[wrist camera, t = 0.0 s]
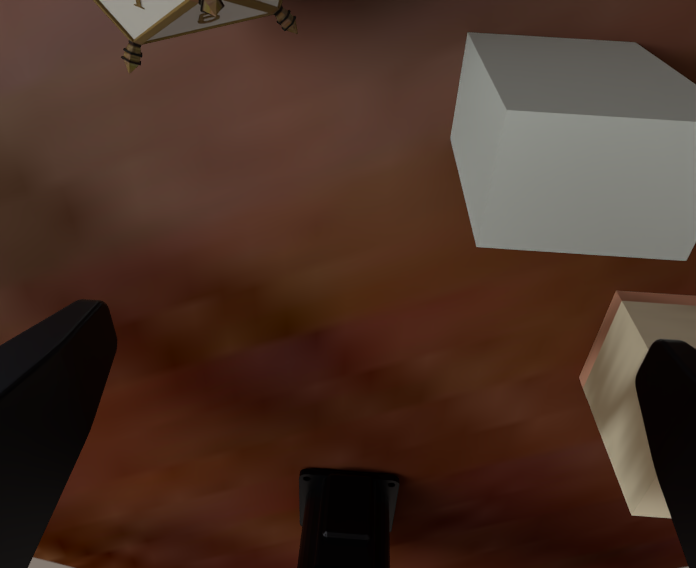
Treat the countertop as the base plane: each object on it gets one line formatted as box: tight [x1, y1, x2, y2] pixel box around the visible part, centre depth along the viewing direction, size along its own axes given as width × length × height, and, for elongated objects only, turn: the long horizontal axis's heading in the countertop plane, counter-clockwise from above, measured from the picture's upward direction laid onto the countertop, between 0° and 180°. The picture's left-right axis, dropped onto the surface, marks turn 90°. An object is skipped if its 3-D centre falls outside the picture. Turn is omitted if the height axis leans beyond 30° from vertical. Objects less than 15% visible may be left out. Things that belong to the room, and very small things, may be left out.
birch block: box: [579, 291, 696, 518], centre depth 25 cm, size 6×4×8 cm, turn 177°
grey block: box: [450, 32, 696, 261], centre depth 18 cm, size 6×4×8 cm, turn 87°
